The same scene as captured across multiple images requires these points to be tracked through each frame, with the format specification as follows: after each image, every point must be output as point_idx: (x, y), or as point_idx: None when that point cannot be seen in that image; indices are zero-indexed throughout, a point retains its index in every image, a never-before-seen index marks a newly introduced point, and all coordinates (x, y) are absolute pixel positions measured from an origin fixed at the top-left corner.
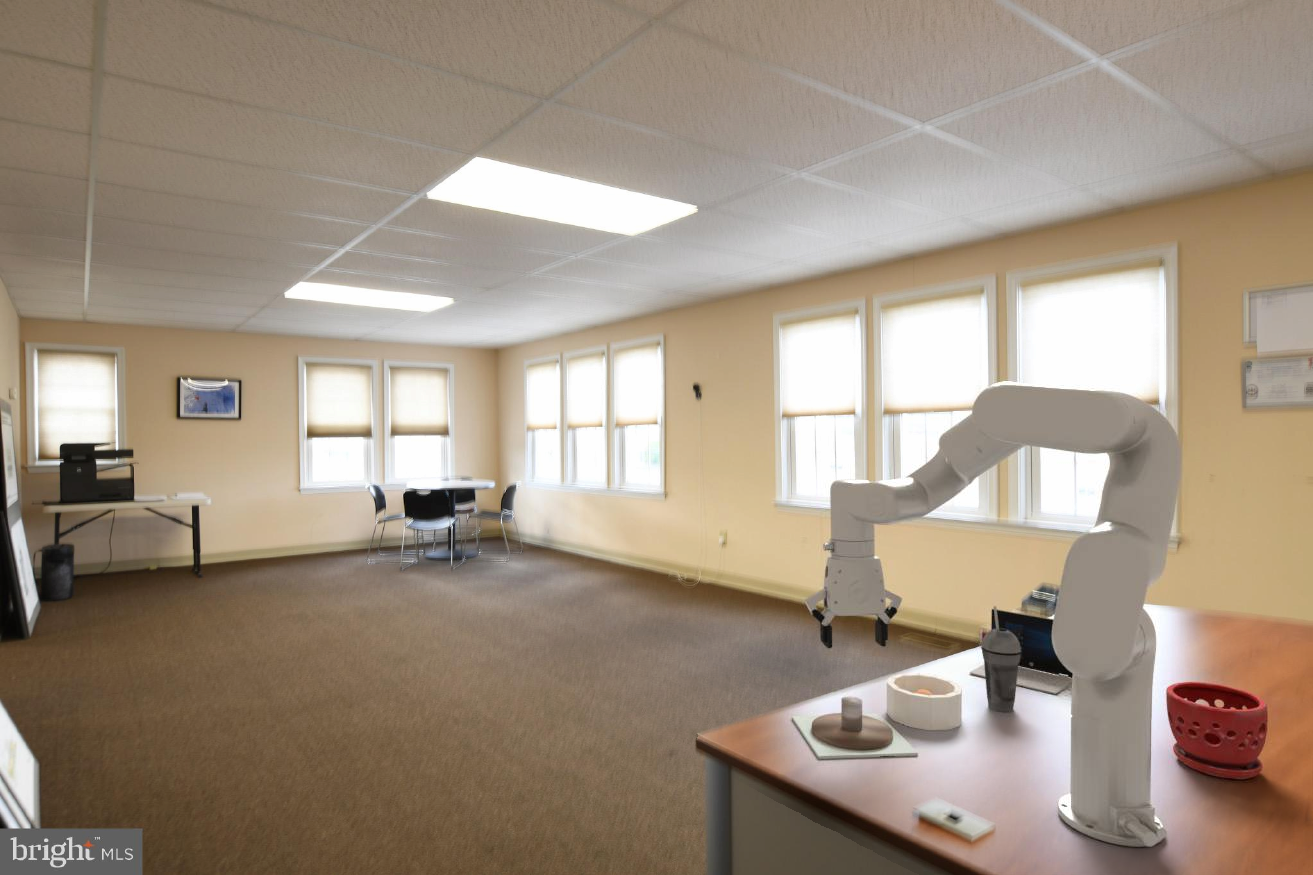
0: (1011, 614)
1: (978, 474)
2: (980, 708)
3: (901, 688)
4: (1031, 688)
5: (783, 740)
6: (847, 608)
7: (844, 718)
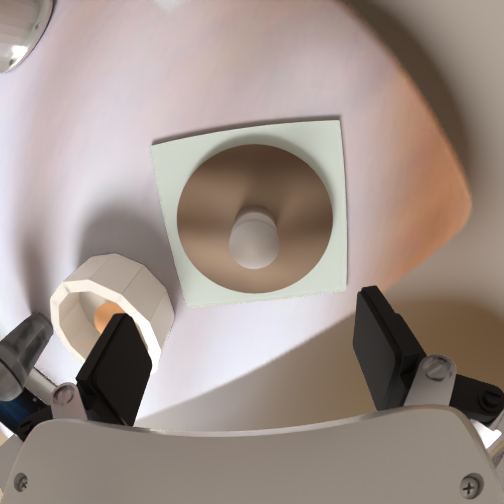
0: None
1: None
2: None
3: None
4: None
5: (382, 198)
6: (345, 474)
7: (273, 221)
